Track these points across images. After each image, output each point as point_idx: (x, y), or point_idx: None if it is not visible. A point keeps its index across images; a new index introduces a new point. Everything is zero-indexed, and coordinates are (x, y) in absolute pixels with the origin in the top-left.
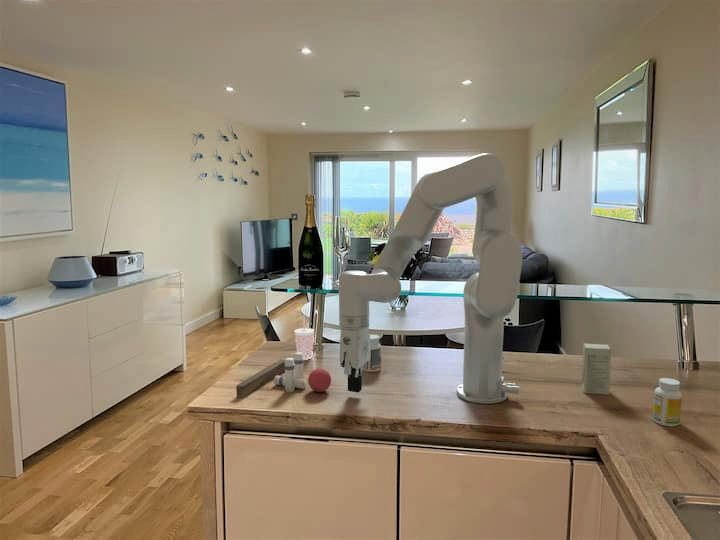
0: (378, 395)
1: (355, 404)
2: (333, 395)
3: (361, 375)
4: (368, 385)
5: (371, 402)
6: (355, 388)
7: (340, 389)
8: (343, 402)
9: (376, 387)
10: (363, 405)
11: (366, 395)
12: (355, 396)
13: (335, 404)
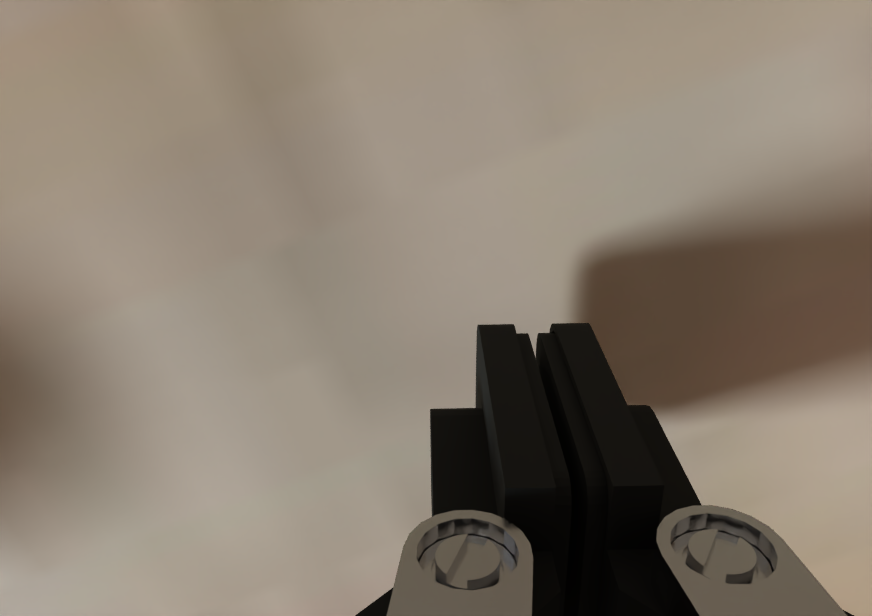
0: (337, 24)
1: (808, 242)
2: None
3: (504, 490)
4: (18, 336)
5: (675, 30)
6: (635, 406)
7: (357, 598)
8: (770, 414)
9: (20, 189)
10: (825, 113)
11: (418, 217)
12: None
13: (855, 475)
